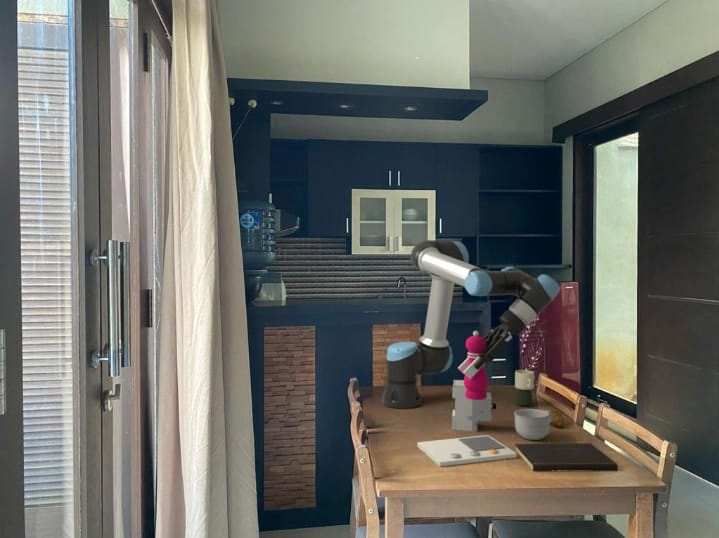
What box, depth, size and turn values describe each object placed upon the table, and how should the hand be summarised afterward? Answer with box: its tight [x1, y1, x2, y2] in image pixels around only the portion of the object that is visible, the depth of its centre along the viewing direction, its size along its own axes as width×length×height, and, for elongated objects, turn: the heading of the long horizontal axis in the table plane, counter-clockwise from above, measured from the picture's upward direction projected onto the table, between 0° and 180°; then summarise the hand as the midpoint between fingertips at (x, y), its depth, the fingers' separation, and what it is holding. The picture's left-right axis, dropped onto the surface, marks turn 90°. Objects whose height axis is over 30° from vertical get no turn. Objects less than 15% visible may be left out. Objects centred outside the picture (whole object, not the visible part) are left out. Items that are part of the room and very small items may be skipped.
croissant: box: [548, 408, 565, 429], centre depth 185 cm, size 14×7×5 cm, turn 2°
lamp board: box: [417, 434, 518, 468], centre depth 157 cm, size 16×24×2 cm, turn 106°
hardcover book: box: [514, 442, 619, 472], centre depth 151 cm, size 16×23×2 cm
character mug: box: [514, 369, 535, 407], centre depth 206 cm, size 11×7×13 cm, turn 7°
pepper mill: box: [463, 330, 489, 400], centre depth 159 cm, size 7×7×20 cm
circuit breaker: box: [451, 379, 497, 432], centre depth 179 cm, size 8×14×15 cm, turn 78°
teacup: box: [513, 408, 553, 441], centre depth 170 cm, size 14×11×8 cm
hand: (464, 373), depth 159 cm, fingers closed on pepper mill, 5 cm apart
